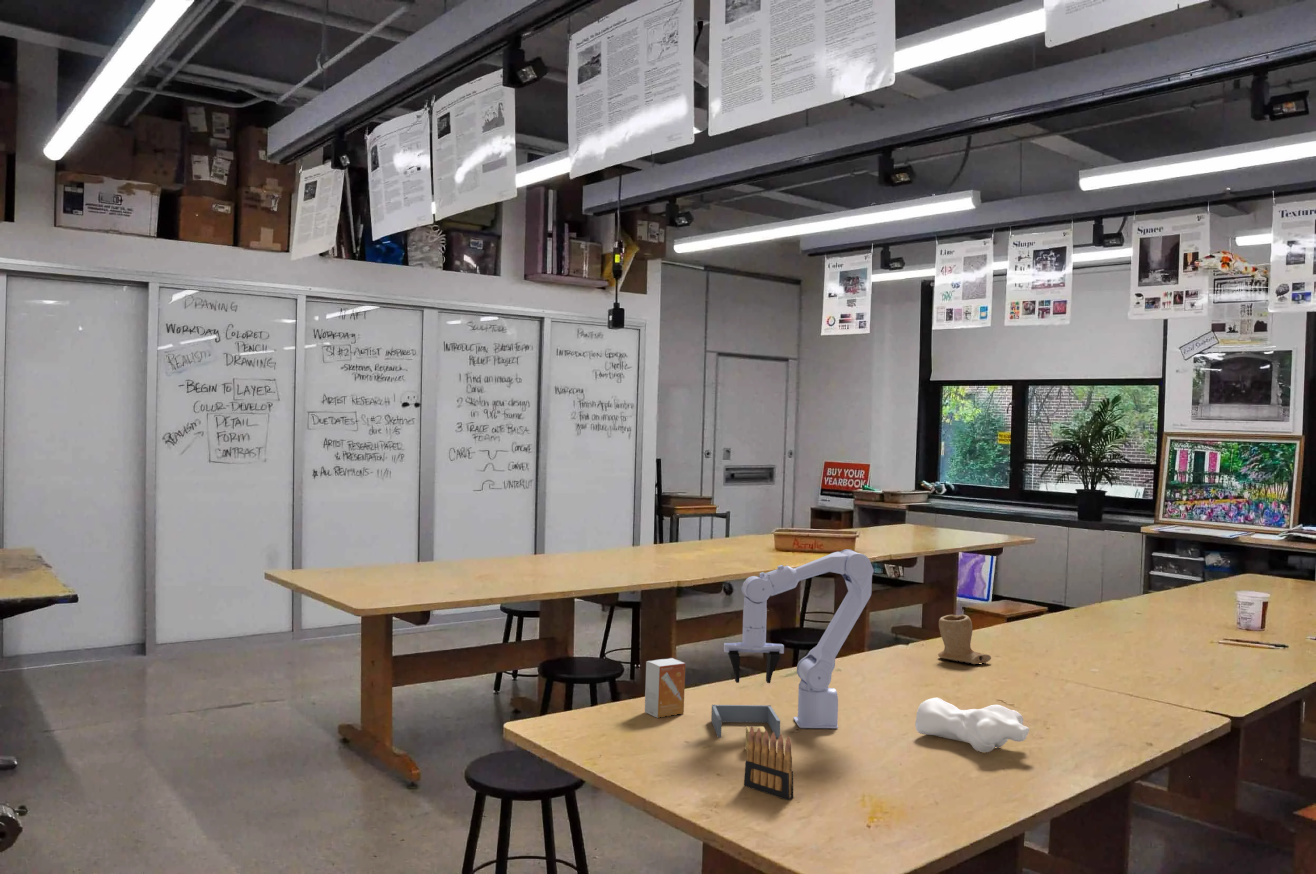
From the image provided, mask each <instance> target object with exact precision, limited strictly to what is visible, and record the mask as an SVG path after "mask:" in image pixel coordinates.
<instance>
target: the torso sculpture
mask: <svg viewBox="0 0 1316 874" xmlns="http://www.w3.org/2000/svg"><path fill="white" fill-rule="evenodd" d="M914 725H915V730H916V731H917V733H919V734H921V735H926V736H927V735H928V736H936V737H939V738H942V737H943V738H944V739H949V740H954V741H959V742H964V743H969V744H970V745H971V747H972V748H973V749H974V750H975V751H976V752H978V751H980V752H987V753H990V752H991V751H993V750H994V749H999V747H1000V748H1002V747H1003V746H1004V745H1005V744H1006V743H1007V742H1008V741H1009V740H1011V741H1014V742H1023V741H1025V740H1026V739H1027V736H1028V734H1029V733H1030V728H1029V727H1028V726H1026V725H1024V717H1023V715H1022V714H1021V713H1020V712H1018V711H1017V710H1016V709H1015V710H1013V709H1009V708H1008V707H1006V706H1003V705H1001V704H992V705H988V706H985V707H982V708H978V709H977V708H971V709H959V708H958V707H957V706H956V705H954V704H952V703H950V702H947V701H945V700H943V699H942V698H941V697H931V698H929V699H928V698H927V699H926V700H924V701H922V702H921V703H920V704H919V705H918V708H917V711H916V716H915V724H914ZM943 738H942V739H943ZM995 747H997V748H995ZM980 752H979V753H980Z"/></svg>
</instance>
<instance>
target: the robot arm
mask: <svg viewBox="0 0 1316 874" xmlns="http://www.w3.org/2000/svg"><path fill="white" fill-rule="evenodd" d="M874 572H875V570H874V568H873V565H872V562H871V560H870V558H869V557H868V556H867V555H865V554H864V553H859V552H856V551H854V550H852V549H850V548H849V549H848V548H847V549H843V550H841V551H835V552H831V553H830V554H827V555H824V556H822V557H819V558H816V559H814V560H812V561H809V562H807V563H805V564H802V565H799V566H797V567H791V566H789V565H785V566H784V565H783V564H780V565H777V568H776V569H774V570H771V571H768V572H764V571H762V572H760V573H759V576H756V575H752V576H751V575H750V576H749V577H747V578H746V579H745V580H744V581H743V583H742V586H741V589H740V590H741V592H742V594H743V596H744V597H743V609H742V612H743V613H742V638H741V639H742V641H740V642H738V641H737V642H724V643H723V652H724V653H727V655H728V658H729V660H730V662H731V665H732V669H733V674H734V675H733V676H734V682H735V683H736V684H738V683H740V662H741V656H740V653H766V674H765V682H766V683H767V684H771V681H772V677H773V674H774V672H775V668H776V666H777V664H778V662H779V661H780V659H781V655H780V654H785V645H784V644H782V643H771V642H766V641H767V613H768V612H767V611H768V608H767V605H768V603H767V600H768V599H769V598H770V597H774V596H776V595H779V594H782V593H785V592H787V591H790V590H793V589H795V588H797V586H798V583H799V582H800V581H804V580H806V579H810V578H813V577H816V576H819V575H824V574H827V573H835V574H839V575H841V576H842V578H843V579H844V581H845V582H844V583H845V585H846V588H847V592H846V594H845V596H844V598H843V599H842V602H841V604H840V605H839V607H838V609H837V610H836V612H835V613H834V615H833V617H832V618H831V620H830V621H829V624H828V625H827V628H825V631H824V632H823V634H822V636H821V638H820V639H819V641H818V643H817V645H815V646H814V647H813V648H812V649H810V650H809V651H808V652H807V654H806V656H804V657H802V658H801V659H800V660H799V661H798V663H797V666H796V673H797V676H798V678H800V681H799V684H798V692H797V693H798V695H797V697H798V699H797V700H798V701H797V716H793V720H794V721H795V723H796V725H797V726H798V727H799V728H800V729H838V728H839V725H838V722H839V721H838V718H839V711H838V710H839V697H838V692H837V689H836V688H834V687H829V686H830V684H831V682H832V676H833V675H832V673H833V671H834V670H835V667H836V657H837V656H838V653H839V652H840V650H841V648H842V646H843V645H844V643H845V641H846V640H847V639H848V636H849V635H850V633H851V631H852V629H853V628H854V626H855V624H856V622H857V620H858V619H859V617H860V616H861V614H862V612H863V610H864V608H865V607H866V605H867V604H868V602H869V600H870V598H871V596H872V590H873V589H872V586H873V583H872V582H873V574H874Z"/></svg>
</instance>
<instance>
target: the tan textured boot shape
mask: <svg viewBox="0 0 1316 874" xmlns="http://www.w3.org/2000/svg"><path fill="white" fill-rule="evenodd" d="M938 628H939V633H940V637H941V639H942V642H943V645H944V648H943V650H942V651H941V652H938V653H937V655H938V657H939V658H941V659H945V660H950V661H953V662H958V661H959V662H958V663H963V662H965V663H964V664H969V663H971V665H975V664H979V663H984V664H986V663H988V662H989V661H991V659H992V656H991V655H989V654H986V653H981V652H978V651H977V652H976V651H974V650H973V649H972V647H971V643H972V636H973V621H972V620H971V618H970V616H969V615H966V614H959V615H957V614H947V615H943V616H941V617H940V618H939V620H938Z"/></svg>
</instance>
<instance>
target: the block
mask: <svg viewBox="0 0 1316 874" xmlns="http://www.w3.org/2000/svg"><path fill="white" fill-rule="evenodd" d="M751 726H753V725H750V726H747V725H746V726H745V746H744V747H745V748H746V749H745V751H746V752H747V747H748V740H749V731H750V728H751ZM758 728H760V731H761V737H762V745H763V736H764V732H765V730H766V728H765V726H753V729H754V736H755V742H756V734H757V730H758Z"/></svg>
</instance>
